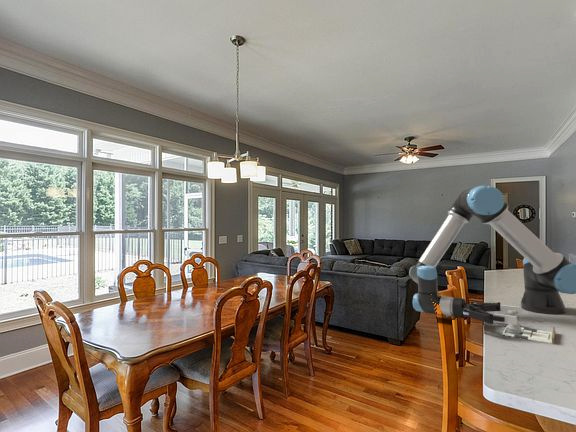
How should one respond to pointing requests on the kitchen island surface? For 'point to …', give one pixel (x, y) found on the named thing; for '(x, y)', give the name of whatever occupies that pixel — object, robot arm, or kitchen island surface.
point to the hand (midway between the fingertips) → (519, 315)
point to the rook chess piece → (512, 327)
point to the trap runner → (534, 335)
